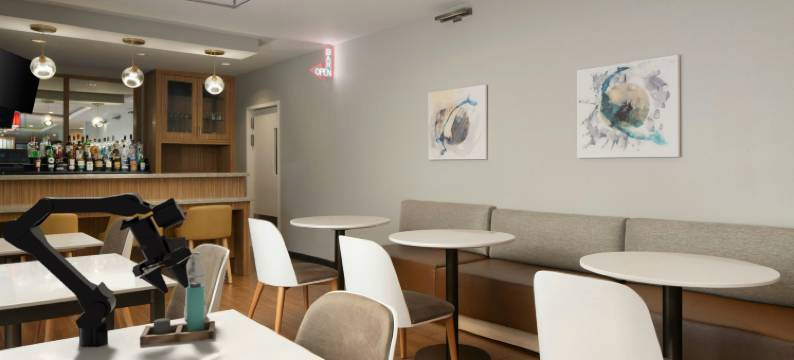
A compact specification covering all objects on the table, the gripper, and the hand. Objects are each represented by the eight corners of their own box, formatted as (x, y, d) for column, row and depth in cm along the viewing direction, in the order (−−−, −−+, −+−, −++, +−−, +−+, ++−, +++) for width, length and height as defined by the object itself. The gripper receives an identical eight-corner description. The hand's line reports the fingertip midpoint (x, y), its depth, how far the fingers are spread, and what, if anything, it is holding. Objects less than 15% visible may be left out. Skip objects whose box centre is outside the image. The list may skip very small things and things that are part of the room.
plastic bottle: (192, 326, 160) (191, 256, 159) (179, 321, 164) (178, 253, 163) (212, 320, 165) (211, 253, 164) (198, 316, 169) (197, 250, 168)
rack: (140, 349, 141) (139, 337, 141) (145, 337, 150) (145, 326, 150) (213, 342, 146) (213, 331, 145) (215, 331, 155) (214, 320, 154)
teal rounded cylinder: (183, 336, 148) (182, 284, 147) (195, 331, 152) (194, 280, 151) (195, 338, 146) (195, 286, 145) (207, 333, 150) (207, 282, 149)
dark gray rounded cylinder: (150, 338, 146) (150, 321, 146) (163, 334, 149) (163, 317, 149) (161, 340, 144) (160, 323, 144) (173, 336, 147) (173, 319, 147)
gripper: (193, 216, 146) (220, 269, 149) (153, 232, 156) (179, 280, 159) (159, 235, 137) (188, 290, 139) (119, 250, 147) (147, 301, 150)
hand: (176, 290), depth 147 cm, fingers open, 9 cm apart
